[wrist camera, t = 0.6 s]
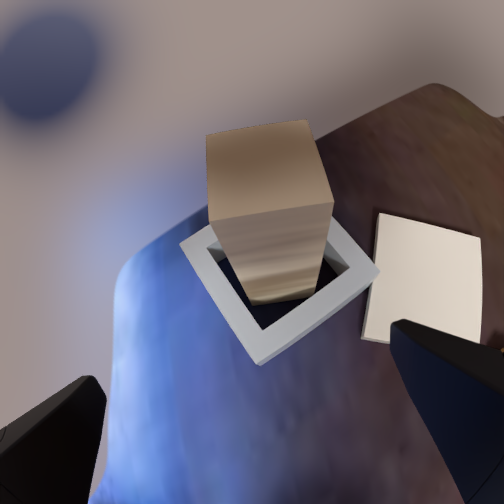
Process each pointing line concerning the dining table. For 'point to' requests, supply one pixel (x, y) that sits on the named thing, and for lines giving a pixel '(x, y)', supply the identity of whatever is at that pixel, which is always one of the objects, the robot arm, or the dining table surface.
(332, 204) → the peg
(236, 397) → the dining table surface
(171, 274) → the dining table surface
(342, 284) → the holder
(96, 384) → the robot arm
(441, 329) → the tile
